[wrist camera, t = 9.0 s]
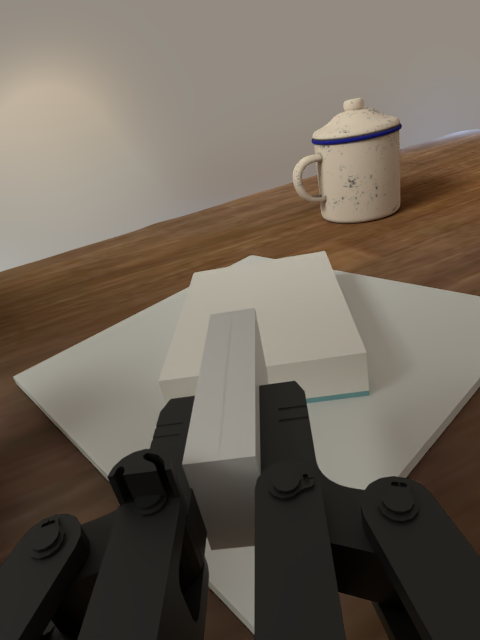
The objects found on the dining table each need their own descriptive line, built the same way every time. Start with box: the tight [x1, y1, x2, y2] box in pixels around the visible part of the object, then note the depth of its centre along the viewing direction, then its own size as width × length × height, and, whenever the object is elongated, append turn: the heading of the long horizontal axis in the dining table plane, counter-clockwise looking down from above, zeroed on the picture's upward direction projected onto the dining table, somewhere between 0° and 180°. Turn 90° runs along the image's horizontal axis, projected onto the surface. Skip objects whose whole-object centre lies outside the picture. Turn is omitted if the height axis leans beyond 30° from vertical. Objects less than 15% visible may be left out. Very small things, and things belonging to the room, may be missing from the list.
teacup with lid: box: [293, 98, 402, 223], centre depth 47 cm, size 12×9×12 cm
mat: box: [13, 255, 480, 634], centre depth 28 cm, size 24×23×1 cm
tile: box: [158, 251, 369, 404], centre depth 28 cm, size 2×10×14 cm
